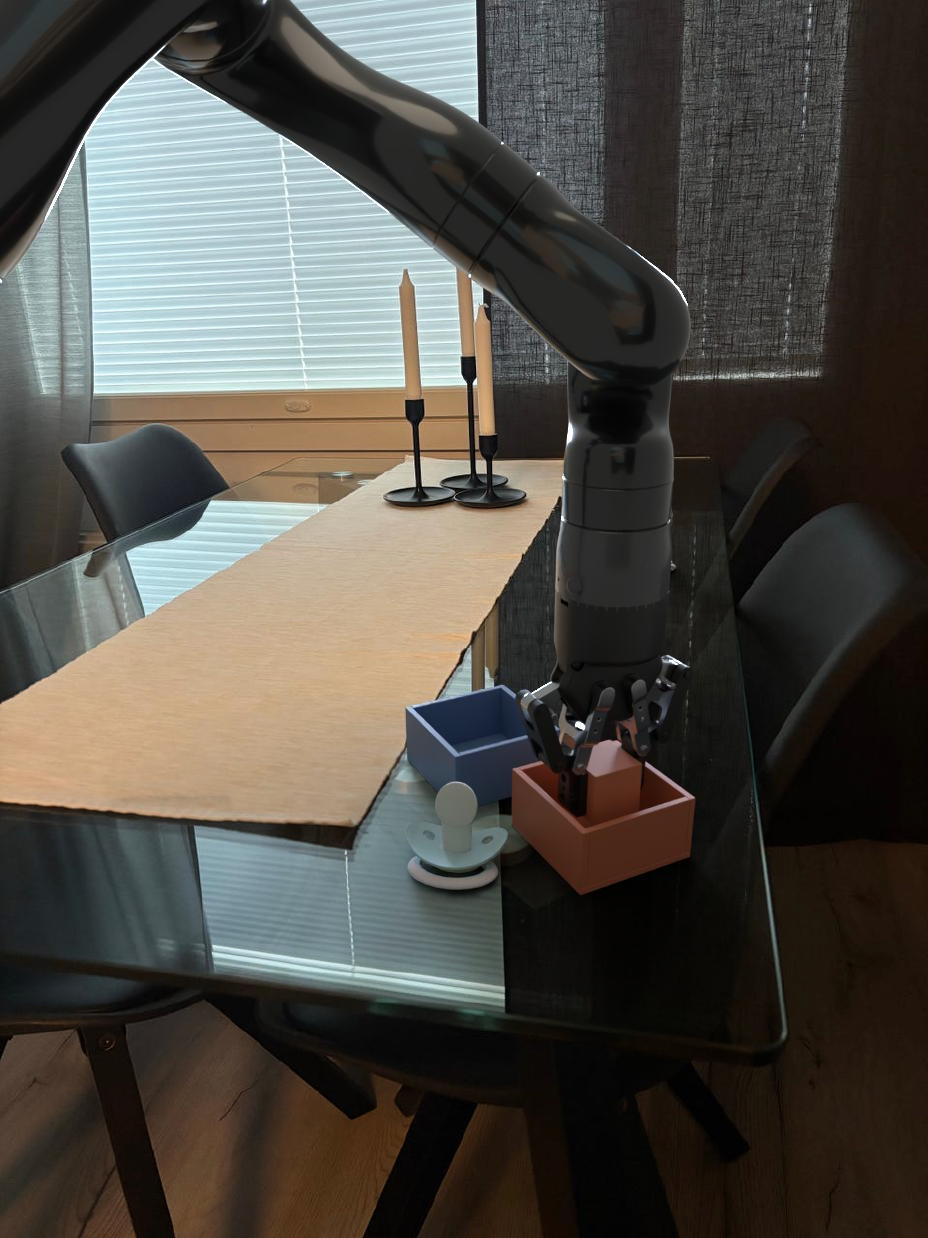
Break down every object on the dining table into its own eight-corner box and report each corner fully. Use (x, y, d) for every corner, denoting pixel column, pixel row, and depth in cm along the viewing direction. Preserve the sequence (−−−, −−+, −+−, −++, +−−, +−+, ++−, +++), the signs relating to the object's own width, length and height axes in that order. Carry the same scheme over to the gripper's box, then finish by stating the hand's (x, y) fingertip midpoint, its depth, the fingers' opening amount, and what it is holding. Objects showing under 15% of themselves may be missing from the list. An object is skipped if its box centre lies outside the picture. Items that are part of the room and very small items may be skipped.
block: (593, 826, 68) (595, 777, 66) (562, 799, 71) (564, 751, 69) (639, 811, 69) (642, 763, 68) (607, 785, 73) (609, 739, 71)
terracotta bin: (580, 895, 65) (583, 834, 63) (511, 825, 73) (512, 768, 71) (690, 857, 69) (695, 797, 67) (613, 794, 77) (616, 739, 75)
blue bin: (455, 813, 75) (455, 757, 73) (406, 758, 83) (405, 707, 81) (558, 783, 79) (560, 729, 77) (502, 734, 87) (503, 684, 85)
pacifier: (499, 901, 65) (510, 847, 70) (500, 824, 62) (510, 774, 68) (394, 890, 66) (413, 838, 71) (391, 815, 64) (410, 767, 69)
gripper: (662, 552, 70) (647, 757, 76) (491, 583, 64) (490, 803, 70) (733, 582, 64) (710, 803, 70) (551, 619, 58) (544, 858, 64)
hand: (600, 802), depth 70 cm, fingers closed on block, 4 cm apart
